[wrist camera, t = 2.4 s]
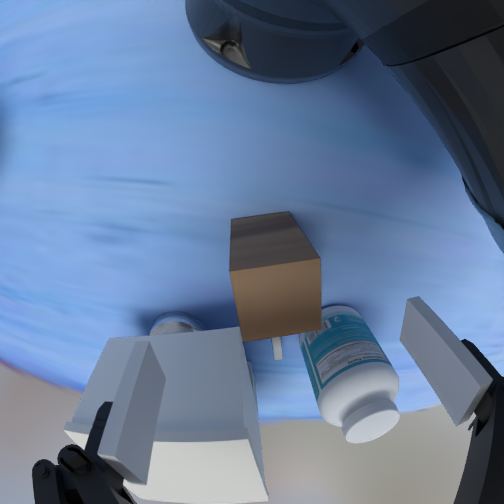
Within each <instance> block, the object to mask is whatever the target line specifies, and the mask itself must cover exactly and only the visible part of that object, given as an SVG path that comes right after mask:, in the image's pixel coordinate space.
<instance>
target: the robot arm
mask: <svg viewBox="0 0 504 504" xmlns="http://www.w3.org/2000/svg"><path fill="white" fill-rule="evenodd" d="M185 8H186V15H187V19H188V22H189V24H190V27H191V29H192V32H193V34H194V36H195V38H196V40H197V41H198V43H199V44H200V46H201V47H202V48H203V49H204V50H205V52H206V53H207V54H208V55H209V56H211V57H212V58H213V59H214V60H215V61H217V62H218V63H219V64H221V65H222V66H224V67H226V68H227V69H229V70H231V71H233V72H235V73H237V74H240V75H242V76H245V77H248V78H251V79H255V80H259V81H264V82H270V83H283V84H287V83H301V82H307V81H311V80H315V79H318V78H321V77H324V76H326V75H328V74H330V73H332V72H334V71H335V70H337V69H339V68H340V67H342V66H344V65H345V64H347V63H348V62H349V61H351V60H352V59H353V58H354V57H355V56H356V55H357V53H358V52H359V51H360V50H361V48H362V47H363V45H364V44H365V45H366V46H367V47H368V48H369V49H370V50H371V51H372V52H373V53H374V54H375V55H376V56H377V57H378V58H379V59H380V60H381V61H382V63H383V65H384V66H385V67H386V68H387V69H388V70H389V71H390V73H391V74H392V75H393V76H394V77H395V78H396V80H397V81H398V82H399V83H400V84H401V86H402V87H403V88H404V89H405V90H406V92H407V93H408V94H409V95H410V97H411V98H412V99H413V101H414V102H415V103H416V105H417V106H418V107H419V109H420V110H421V111H422V113H423V114H424V115H425V117H426V118H427V120H428V121H429V122H430V124H431V125H432V127H433V128H434V130H435V131H436V133H437V134H438V136H439V137H440V139H441V140H442V142H443V144H444V145H445V147H446V148H447V150H448V152H449V153H450V155H451V157H452V158H453V160H454V162H455V163H456V165H457V167H458V169H459V170H460V172H461V175H462V179H463V182H464V185H465V191H466V193H467V195H468V197H469V199H470V201H471V202H472V204H473V205H474V207H475V208H476V209H477V211H478V212H479V213H480V214H481V215H482V216H483V218H484V220H485V222H486V224H487V226H488V228H489V230H490V232H491V234H492V236H493V238H494V240H495V242H496V244H497V245H498V246H499V248H500V249H501V251H502V252H503V253H504V0H185ZM400 341H401V342H402V344H403V345H404V347H405V348H406V349H407V351H408V352H409V354H410V355H411V357H412V358H413V360H414V361H415V363H416V364H417V365H418V367H419V368H420V370H421V371H422V373H423V374H424V376H425V377H426V379H427V380H428V382H429V384H430V385H431V387H432V388H433V390H434V391H435V393H436V394H437V396H438V397H439V399H440V401H441V402H442V404H443V405H444V407H445V409H446V410H447V412H448V414H449V415H450V417H451V418H452V420H453V422H454V423H455V425H456V426H458V425H460V424H461V423H463V422H465V421H467V420H468V419H469V418H470V416H471V415H472V414H473V412H474V413H475V414H476V417H475V419H474V420H473V422H472V423H471V424H470V426H469V428H468V430H470V429H471V428H472V426H473V431H472V437H471V442H470V447H469V451H468V456H467V460H466V464H465V468H464V472H463V475H462V479H461V482H460V485H459V489H458V492H457V495H456V498H455V501H454V504H504V377H502V376H501V375H500V374H499V373H498V371H497V370H496V369H495V368H494V367H493V365H492V364H491V363H490V362H489V361H488V360H487V358H486V357H484V355H483V354H482V353H481V352H480V350H479V349H478V348H477V347H476V346H475V345H474V344H473V343H471V342H470V341H468V340H466V339H464V340H461V341H460V340H459V339H458V338H457V336H456V335H455V334H454V333H453V332H452V331H451V330H450V329H449V328H448V326H447V325H446V324H445V323H444V322H443V321H442V320H441V319H440V318H439V317H438V316H437V315H436V314H435V313H434V311H433V310H432V309H431V308H430V307H429V306H428V305H427V304H426V303H425V302H424V301H423V300H422V299H421V298H420V297H419V296H418V297H414V298H410V299H407V304H406V310H405V315H404V321H403V326H402V331H401V336H400ZM165 381H166V377H165V375H164V373H163V371H162V369H161V366H160V364H159V362H158V360H157V358H156V355H155V353H154V351H153V348H152V346H151V344H150V341H138V342H135V345H134V347H133V350H132V352H131V355H130V357H129V360H128V363H127V365H126V368H125V371H124V373H123V376H122V379H121V382H120V385H119V387H118V390H117V393H116V396H115V399H114V402H108V401H105V402H104V403H103V404H102V405H101V406H100V408H99V409H98V411H97V414H96V417H95V420H94V422H93V425H92V428H91V431H90V434H89V437H88V440H87V443H86V446H85V449H84V450H83V449H82V448H81V447H80V446H78V445H74V444H71V445H68V446H65V447H64V448H63V449H61V451H60V452H59V454H58V458H57V459H58V464H59V465H54V464H53V463H52V462H51V461H49V460H46V459H42V460H39V461H38V462H37V463H35V465H34V467H33V469H32V478H33V490H34V499H35V504H137V503H136V502H135V501H134V499H133V498H132V496H131V495H130V493H129V492H128V490H127V489H126V487H125V486H124V485H123V482H124V479H125V480H127V481H128V482H129V483H130V484H137V485H146V486H147V479H148V473H149V466H150V460H151V454H152V448H153V443H154V437H155V431H156V426H157V421H158V416H159V410H160V405H161V400H162V396H163V391H164V386H165Z"/></svg>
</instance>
